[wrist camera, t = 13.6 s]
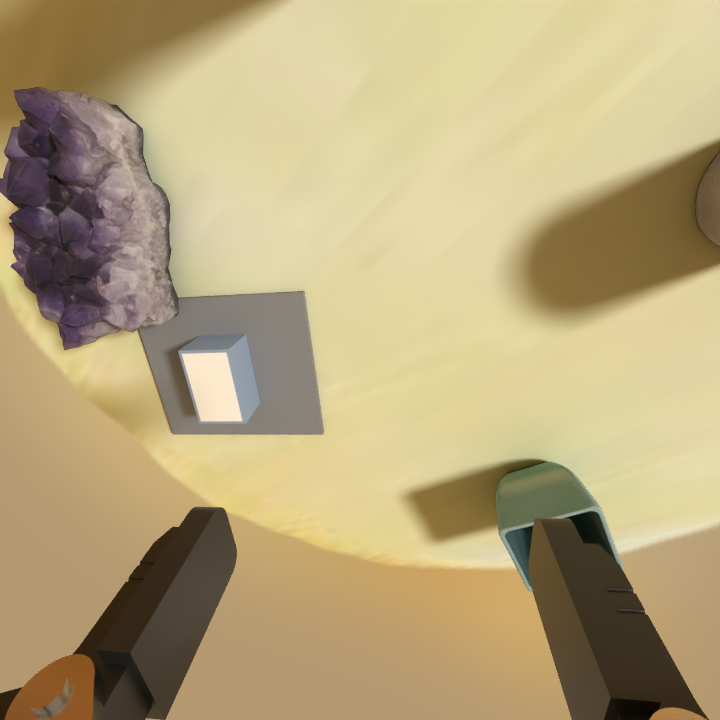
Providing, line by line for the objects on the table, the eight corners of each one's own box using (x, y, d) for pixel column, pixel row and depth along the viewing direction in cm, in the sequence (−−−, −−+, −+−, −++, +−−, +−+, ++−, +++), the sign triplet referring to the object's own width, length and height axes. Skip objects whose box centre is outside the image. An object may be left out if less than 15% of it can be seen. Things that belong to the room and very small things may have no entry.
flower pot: (507, 521, 45) (529, 594, 37) (480, 466, 43) (497, 532, 34) (585, 501, 43) (626, 574, 35) (561, 440, 40) (600, 505, 32)
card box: (217, 403, 43) (198, 423, 39) (199, 335, 39) (177, 350, 36) (260, 403, 42) (245, 423, 38) (245, 334, 39) (228, 349, 35)
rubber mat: (133, 300, 39) (129, 301, 39) (304, 291, 37) (302, 292, 36) (175, 431, 46) (173, 434, 45) (323, 431, 43) (322, 434, 43)
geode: (31, 98, 33) (-99, 50, 23) (169, 108, 33) (96, 64, 24) (78, 328, 40) (-8, 362, 30) (191, 334, 40) (142, 369, 31)
